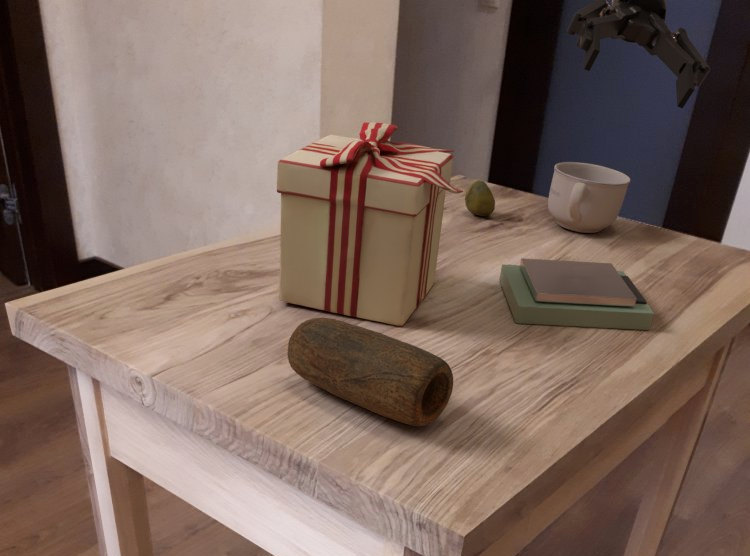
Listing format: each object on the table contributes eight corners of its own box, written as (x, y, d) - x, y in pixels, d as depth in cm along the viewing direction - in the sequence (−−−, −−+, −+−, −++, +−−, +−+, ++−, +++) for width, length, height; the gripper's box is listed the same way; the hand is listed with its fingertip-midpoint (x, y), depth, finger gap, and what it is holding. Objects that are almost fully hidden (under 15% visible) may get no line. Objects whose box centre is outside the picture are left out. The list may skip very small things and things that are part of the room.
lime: (467, 209, 121) (471, 175, 118) (498, 214, 120) (503, 180, 117) (458, 216, 118) (462, 181, 115) (489, 222, 117) (494, 186, 114)
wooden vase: (458, 414, 70) (468, 344, 66) (415, 446, 65) (423, 373, 61) (324, 362, 77) (326, 296, 73) (276, 388, 72) (275, 318, 68)
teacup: (562, 211, 123) (573, 156, 119) (629, 227, 119) (642, 171, 114) (521, 231, 114) (531, 172, 109) (591, 249, 109) (605, 189, 104)
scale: (619, 286, 98) (624, 268, 97) (650, 330, 88) (655, 310, 86) (499, 280, 98) (502, 261, 96) (515, 323, 87) (519, 303, 86)
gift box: (441, 334, 83) (461, 161, 73) (273, 309, 86) (271, 139, 76) (462, 279, 97) (482, 126, 87) (317, 258, 100) (320, 108, 90)
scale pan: (609, 271, 96) (611, 263, 95) (634, 307, 87) (637, 298, 86) (519, 266, 95) (521, 258, 95) (535, 301, 87) (537, 292, 86)
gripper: (699, 60, 120) (706, 138, 108) (548, -2, 117) (538, 71, 105) (730, 10, 114) (742, 87, 102) (572, -57, 111) (565, 14, 99)
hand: (639, 79), depth 104 cm, fingers open, 13 cm apart
